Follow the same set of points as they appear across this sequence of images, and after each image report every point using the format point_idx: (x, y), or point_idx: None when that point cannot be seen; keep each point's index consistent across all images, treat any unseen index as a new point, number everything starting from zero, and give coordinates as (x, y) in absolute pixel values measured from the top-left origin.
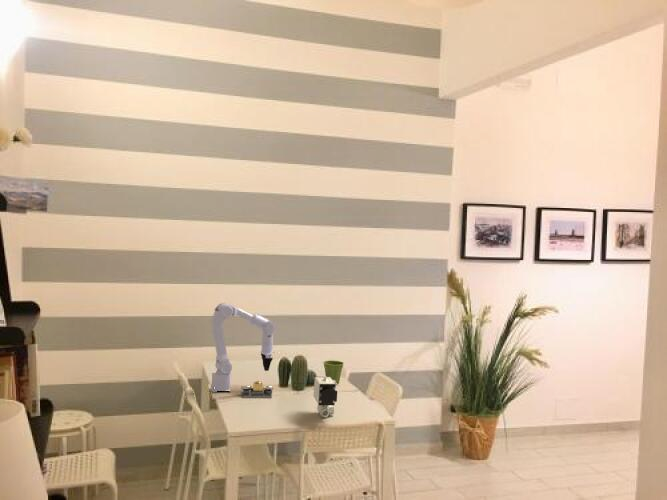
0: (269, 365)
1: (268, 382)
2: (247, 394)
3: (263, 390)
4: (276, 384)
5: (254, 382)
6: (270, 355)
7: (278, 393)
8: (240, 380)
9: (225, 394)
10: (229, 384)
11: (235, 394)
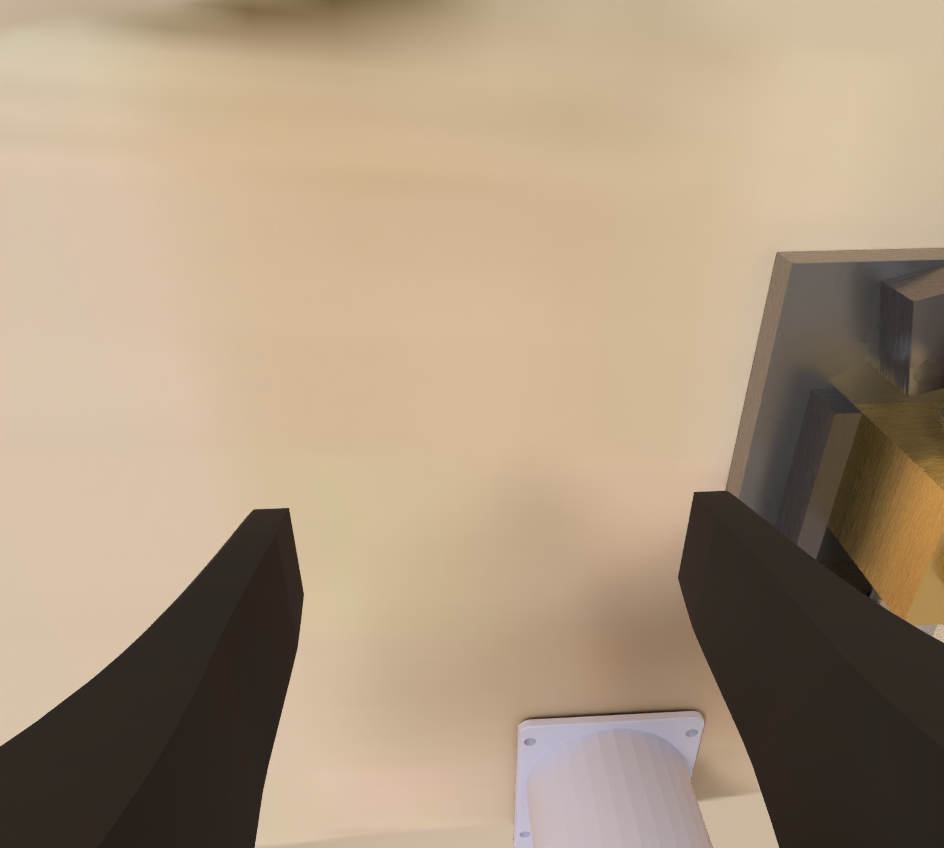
0: (846, 593)
1: (82, 245)
2: None
3: (775, 374)
4: (200, 81)
5: (933, 610)
6: (119, 835)
7: (879, 94)
8: (96, 638)
9: None
10: (660, 793)
11: None
